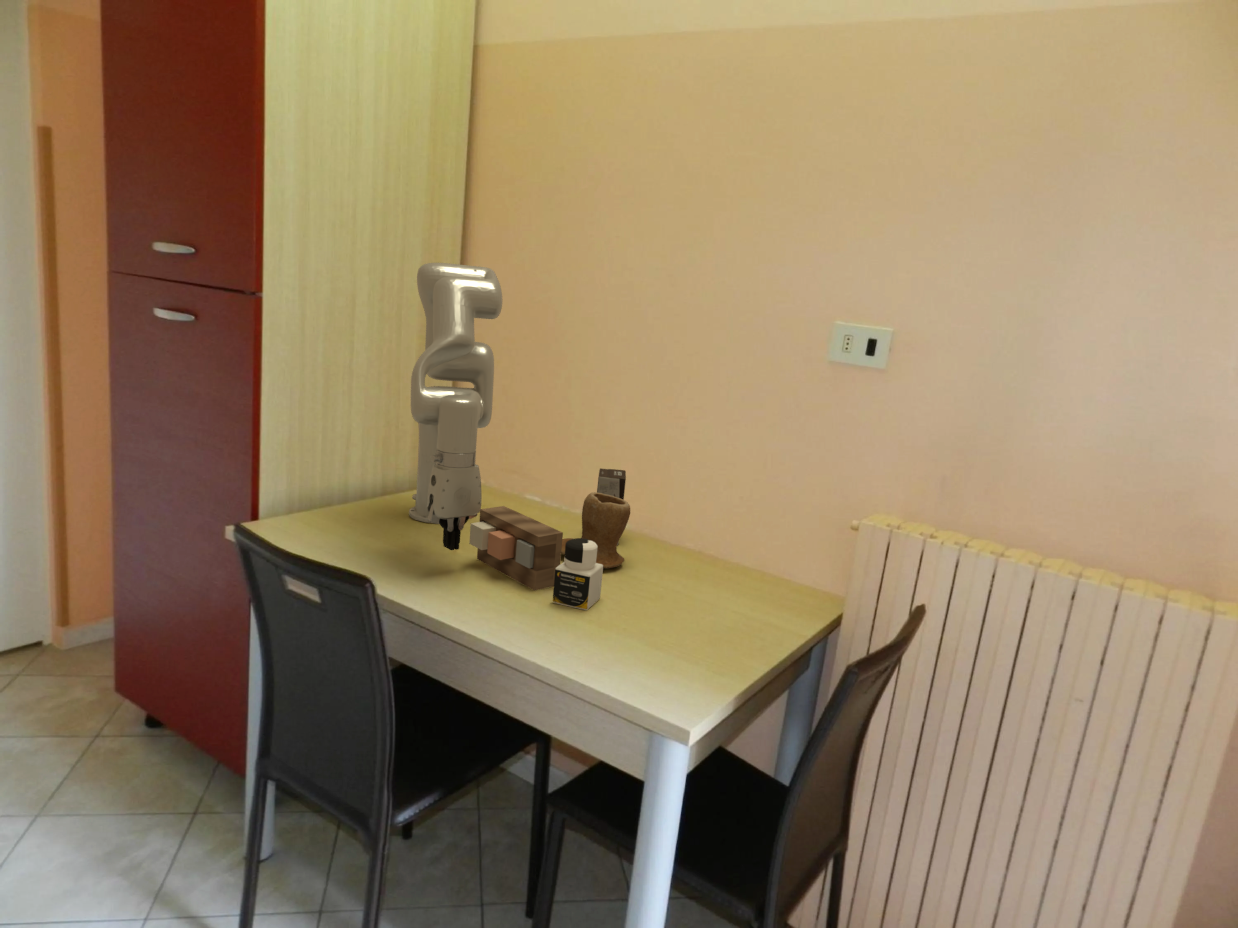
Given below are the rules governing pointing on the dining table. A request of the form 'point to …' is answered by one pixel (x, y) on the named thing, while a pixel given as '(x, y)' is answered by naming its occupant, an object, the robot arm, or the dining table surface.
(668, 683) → the dining table surface
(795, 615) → the dining table surface
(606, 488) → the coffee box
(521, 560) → the slate key
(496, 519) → the wooden button box
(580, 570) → the medicine bottle
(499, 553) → the terracotta key
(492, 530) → the ivory key
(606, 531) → the stone cup
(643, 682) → the dining table surface
